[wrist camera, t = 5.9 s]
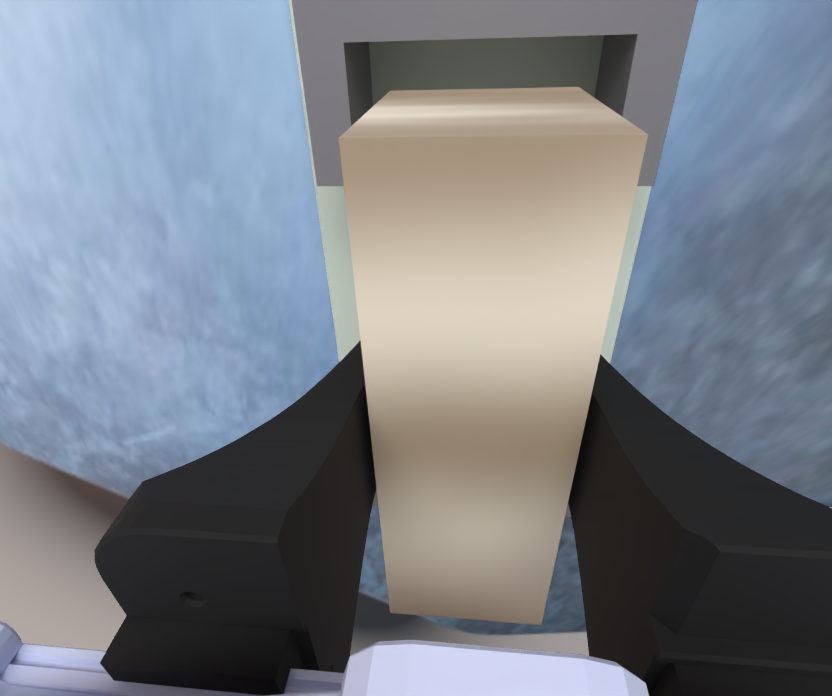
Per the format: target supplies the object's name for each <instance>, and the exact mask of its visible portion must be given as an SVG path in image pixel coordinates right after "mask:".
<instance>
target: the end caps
mask: <svg viewBox="0 0 832 696" xmlns="http://www.w3.org/2000/svg"><path fill="white" fill-rule="evenodd" d="M697 1H698V0H289V6H290V13H291V21H292V28H293V35H294V42H295V49H296V56H297V64H298V71H299V78H300V85H301V92H302V99H303V106H304V114H305V121H306V128H307V135H308V142H309V149H310V156H311V164H312V171H313V178H314V185H315V192H316V199H317V207H318V214H319V221H320V228H321V235H322V242H323V249H324V257H325V264H326V271H327V278H328V285H329V292H330V300H331V307H332V314H333V321H334V328H335V335H336V342H337V350H338V357H339V362H340V361H341V360H342V359H343V358H344V357H345V356H346V355H347V354H348V353H349V352H350V351H351V350H352V349H353V348H354V346H355V345H356V344H357V343H358V342H359V341H360V331H359V322H358V312H357V303H356V294H355V285H354V275H353V266H352V257H351V248H350V238H349V229H348V220H347V211H346V202H345V192H344V183H343V174H342V165H341V155H340V146H339V137H340V136H341V135H342V134H343V133H345V132H346V131H347V130H348V129H349V128H350V127H351V126H352V125H353V124H354V123H355V122H357V121H358V120H359V119H360V118H361V117H362V116H363V115H364V114H365V113H366V112H367V111H369V110H370V109H371V108H372V107H373V106H374V105H375V104H376V103H377V102H378V101H379V100H381V99H382V98H383V97H384V96H385V95H386V94H387V93H388V92H389V91H397V90H448V89H498V88H548V87H579V88H581V89H582V90H584V91H585V92H587V93H588V94H590V95H591V96H593V97H594V98H596V99H597V100H598V101H600V102H601V103H603V104H604V105H606V106H607V107H609V108H610V109H612V110H613V111H614V112H616V113H617V114H619V115H620V116H622V117H623V118H625V119H626V120H628V121H629V122H631V123H632V124H633V125H635V126H636V127H638V128H639V129H641V130H642V131H644V132H645V133H647V134H648V138H647V142H646V147H645V152H644V156H643V161H642V165H641V170H640V174H639V179H638V184H637V188H636V193H635V197H634V202H633V207H632V211H631V216H630V220H629V225H628V230H627V234H626V239H625V243H624V248H623V252H622V257H621V262H620V266H619V271H618V275H617V280H616V285H615V289H614V294H613V298H612V303H611V307H610V312H609V317H608V321H607V326H606V330H605V335H604V340H603V344H602V349H601V353H600V354H601V355H602V356H603V357H604V358H605V359H606V360H607V361H608V362H609V363H610V361H611V357H612V353H613V349H614V344H615V340H616V336H617V332H618V327H619V323H620V319H621V314H622V310H623V306H624V302H625V297H626V293H627V289H628V285H629V280H630V276H631V272H632V267H633V263H634V259H635V255H636V250H637V246H638V242H639V238H640V233H641V229H642V225H643V220H644V216H645V212H646V208H647V203H648V199H649V195H650V191H651V186H654V183H655V179H656V175H657V170H658V166H659V162H660V158H661V153H662V149H663V145H664V141H665V137H666V132H667V128H668V124H669V120H670V115H671V111H672V107H673V103H674V99H675V94H676V90H677V86H678V82H679V77H680V73H681V69H682V65H683V60H684V56H685V52H686V48H687V44H688V39H689V35H690V31H691V27H692V22H693V18H694V14H695V10H696V6H697ZM372 505H378V497H377V489H376V493H375V496H374V500H373V504H372ZM565 517H571V513H570V509H569V505H567V509H566V514H565Z"/></svg>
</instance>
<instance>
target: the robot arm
mask: <svg viewBox="0 0 832 696" xmlns="http://www.w3.org/2000/svg"><path fill="white" fill-rule="evenodd" d="M376 489H377V488H376V478H375V469H374V460H373V451H372V441H371V432H370V423H369V414H368V405H367V395H366V386H365V377H364V368H363V358H362V349H361V340H360V341H359V342H358V343H357V344H356V345H355V346H354V348H353V349H352V350H351V351H350V352H349V353H348V354H347V355H346V356H345V357H344V358H343V359H342V360H341V361H340V362H339V363H338V364H337V365H336V366H335V367H334V368H333V369H332V370H331V371H330V372H329V373H328V374H327V375H326V376H325V377H324V378H323V379H322V380H321V381H320V382H318V383H317V384H316V385H315V386H314V387H313V388H312V389H311V390H309V391H308V392H307V393H306V394H305V395H304V396H302V397H301V398H300V399H299V400H297V401H296V402H295V403H294V404H292V405H291V406H289V407H288V408H287V409H285V410H284V411H282V412H281V413H280V414H278V415H277V416H275V417H274V418H272V419H271V420H269V421H268V422H266V423H264V424H263V425H261V426H259V427H258V428H256V429H254V430H253V431H251V432H249V433H248V434H246V435H244V436H243V437H241V438H239V439H237V440H236V441H234V442H232V443H230V444H228V445H226V446H224V447H222V448H220V449H218V450H216V451H214V452H212V453H210V454H208V455H206V456H204V457H202V458H199V459H197V460H195V461H193V462H191V463H188V464H186V465H183V466H181V467H178V468H176V469H173V470H171V471H168V472H166V473H164V474H161V475H159V476H156V477H154V478H151V479H148V480H146V481H143V482H142V483H141V484H140V486H139V487H138V488H137V490H136V491H135V492H134V494H133V495H132V496H131V497H130V499H129V500H128V502H127V503H126V505H125V506H124V507H123V509H122V510H121V512H120V513H119V514H118V516H117V517H116V519H115V520H114V522H113V523H112V525H111V526H110V527H109V529H108V530H107V532H106V533H105V535H104V536H103V537H102V539H101V540H100V542H99V544H98V545H97V547H96V549H95V564H96V567H97V569H98V571H99V573H100V575H101V577H102V579H103V581H104V582H105V583H106V585H107V586H108V588H109V589H110V591H111V592H112V594H113V595H114V597H115V598H116V600H117V601H118V603H119V604H120V606H121V607H122V609H123V610H124V612H125V613H126V615H127V616H126V618H125V620H124V622H123V623H122V625H121V627H120V629H119V630H118V632H117V634H116V635H115V637H114V639H113V641H112V643H111V644H110V646H109V648H108V649H107V651H100V650H90V649H79V648H68V647H58V646H46V645H36V644H25V643H22V641H21V638H20V637H19V636H18V634H17V633H16V632H15V631H14V629H12V628H11V627H10V626H9V625H7V624H6V623H4V622H2V621H0V696H832V507H827V506H825V505H823V504H821V503H818V502H816V501H814V500H811V499H809V498H807V497H804V496H802V495H800V494H798V493H796V492H794V491H792V490H790V489H788V488H786V487H784V486H782V485H780V484H778V483H776V482H774V481H772V480H770V479H768V478H766V477H764V476H762V475H760V474H759V473H757V472H755V471H753V470H751V469H749V468H748V467H746V466H744V465H742V464H740V463H739V462H737V461H735V460H734V459H732V458H730V457H729V456H727V455H725V454H724V453H722V452H720V451H719V450H717V449H715V448H714V447H712V446H711V445H709V444H707V443H706V442H704V441H703V440H701V439H700V438H698V437H697V436H695V435H694V434H693V433H691V432H690V431H688V430H687V429H686V428H684V427H683V426H681V425H680V424H678V423H677V422H676V421H674V420H673V419H672V418H670V417H669V416H668V415H666V414H665V413H664V412H663V411H661V410H660V409H659V408H658V407H657V406H655V405H654V404H653V403H652V402H651V401H649V400H648V399H647V398H646V397H645V396H643V395H642V394H641V393H640V392H639V391H638V390H637V389H636V388H634V387H633V386H632V385H631V384H630V383H629V382H628V381H627V380H626V379H625V378H624V377H623V376H622V375H621V374H620V373H619V372H618V371H617V370H616V369H615V368H613V367H612V366H611V364H610V363H609V362H608V361H607V360H606V359H605V358H604V357H603V356H602V355H601V354H600V358H599V363H598V367H597V372H596V376H595V381H594V385H593V390H592V395H591V399H590V404H589V408H588V413H587V418H586V422H585V427H584V431H583V436H582V440H581V445H580V450H579V454H578V459H577V463H576V468H575V473H574V477H573V482H572V486H571V491H570V496H569V500H568V505H569V509H570V513H571V518H572V523H573V528H574V534H575V541H576V548H577V555H578V562H579V570H580V578H581V586H582V594H583V602H584V610H585V620H586V629H587V638H588V647H589V656H586V655H582V654H572V653H560V652H548V651H537V650H525V649H514V648H502V647H490V646H479V645H467V644H466V645H465V644H454V643H444V642H431V641H419V640H398V641H379V642H377V643H375V644H373V645H370V646H368V647H366V648H364V649H362V650H360V651H357V652H356V653H354V654H353V655H351V656H350V649H351V641H352V634H353V626H354V619H355V611H356V604H357V597H358V590H359V583H360V576H361V569H362V562H363V556H364V549H365V543H366V537H367V530H368V524H369V518H370V513H371V509H372V504H373V500H374V496H375V493H376Z"/></svg>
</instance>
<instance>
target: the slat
mask: <svg viewBox="0 0 832 696" xmlns="http://www.w3.org/2000/svg"><path fill="white" fill-rule="evenodd" d="M647 138H648V134H647V133H645V132H644V131H642V130H641V129H639V128H638V127H636V126H635V125H633V124H632V123H631V122H629V121H628V120H626V119H625V118H623V117H622V116H620V115H619V114H617V113H616V112H614V111H613V110H612V109H610V108H609V107H607V106H606V105H604V104H603V103H601V102H600V101H598V100H597V99H596V98H594V97H593V96H591V95H590V94H588V93H587V92H585V91H584V90H582V89H581V88H579V87H548V88H498V89H448V90H397V91H389V92H388V93H387V94H386V95H385V96H384V97H383V98H382V99H381V100H379V101H378V102H377V103H376V104H375V105H374V106H373V107H372V108H371V109H370V110H369V111H367V112H366V113H365V114H364V115H363V116H362V117H361V118H360V119H359V120H358V121H357V122H355V123H354V124H353V125H352V126H351V127H350V128H349V129H348V130H347V131H346V132H345V133H343V134H342V135H341V136H340V137H339V146H340V155H341V165H342V174H343V183H344V192H345V202H346V211H347V220H348V229H349V238H350V248H351V257H352V266H353V275H354V285H355V294H356V303H357V312H358V322H359V331H360V340H361V349H362V358H363V368H364V377H365V386H366V395H367V405H368V414H369V423H370V432H371V441H372V451H373V460H374V469H375V478H376V488H377V497H378V506H379V515H380V524H381V534H382V543H383V552H384V561H385V571H386V580H387V589H388V598H389V607H390V613H400V614H411V615H424V616H436V617H448V618H461V619H473V620H485V621H497V622H510V623H522V624H534V625H541V624H542V619H543V615H544V610H545V606H546V601H547V596H548V592H549V587H550V583H551V578H552V573H553V569H554V564H555V560H556V555H557V551H558V546H559V541H560V537H561V532H562V528H563V523H564V518H565V514H566V509H567V505H568V500H569V496H570V491H571V486H572V482H573V477H574V473H575V468H576V463H577V459H578V454H579V450H580V445H581V440H582V436H583V431H584V427H585V422H586V418H587V413H588V408H589V404H590V399H591V395H592V390H593V385H594V381H595V376H596V372H597V367H598V363H599V358H600V353H601V349H602V344H603V340H604V335H605V330H606V326H607V321H608V317H609V312H610V307H611V303H612V298H613V294H614V289H615V285H616V280H617V275H618V271H619V266H620V262H621V257H622V252H623V248H624V243H625V239H626V234H627V230H628V225H629V220H630V216H631V211H632V207H633V202H634V197H635V193H636V188H637V184H638V179H639V174H640V170H641V165H642V161H643V156H644V152H645V147H646V142H647Z"/></svg>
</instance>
